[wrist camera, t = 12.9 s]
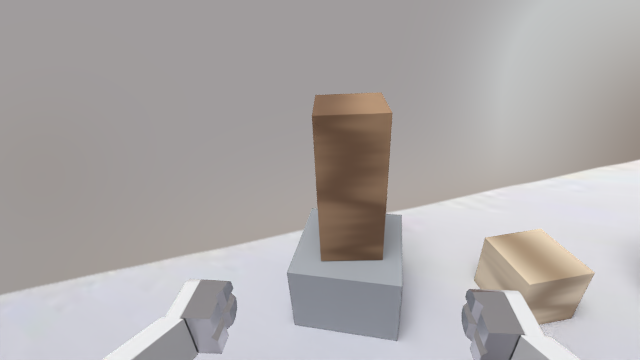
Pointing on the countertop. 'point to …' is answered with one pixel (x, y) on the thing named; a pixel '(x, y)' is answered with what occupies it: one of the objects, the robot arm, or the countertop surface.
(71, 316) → the countertop surface
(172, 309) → the robot arm
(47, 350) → the countertop surface
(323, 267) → the grey block
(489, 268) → the oak block
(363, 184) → the walnut block
